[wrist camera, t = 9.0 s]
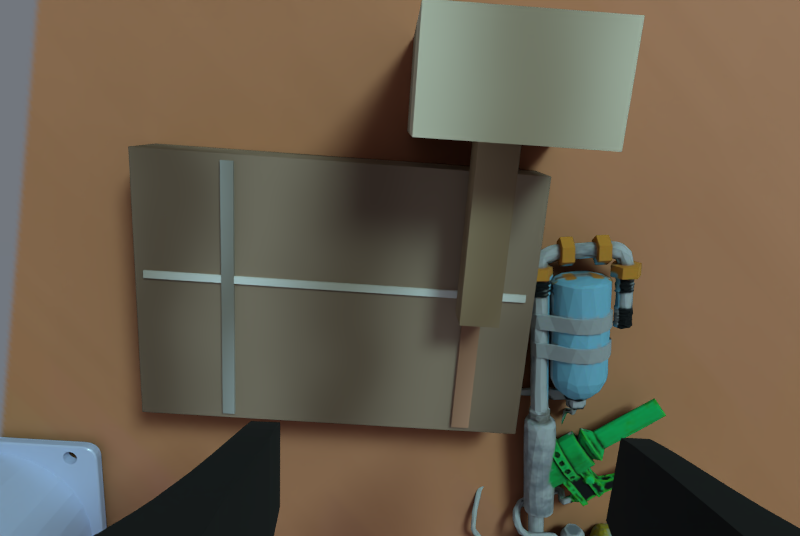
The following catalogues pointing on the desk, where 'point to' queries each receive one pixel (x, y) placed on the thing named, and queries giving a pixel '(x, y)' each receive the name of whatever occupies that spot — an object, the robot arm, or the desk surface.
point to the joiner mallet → (514, 109)
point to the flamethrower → (573, 379)
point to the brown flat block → (322, 290)
